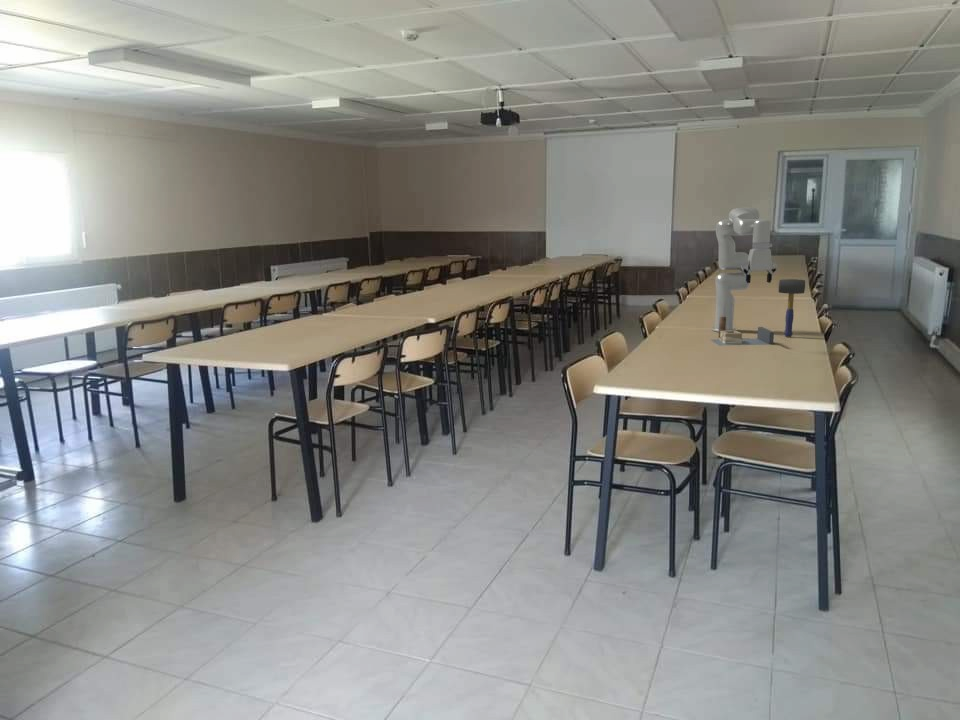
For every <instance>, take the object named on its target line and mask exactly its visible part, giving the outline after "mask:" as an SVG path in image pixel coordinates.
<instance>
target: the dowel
mask: <svg viewBox="0 0 960 720" xmlns="http://www.w3.org/2000/svg"><path fill="white" fill-rule="evenodd" d="M725 330H726V317H720V319H719V332H718V339H720V331H725Z"/></svg>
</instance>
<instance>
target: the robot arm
mask: <svg viewBox="0 0 960 720" xmlns="http://www.w3.org/2000/svg"><path fill="white" fill-rule="evenodd" d="M771 227H772V222H771V220H769V219H765V218H760V212H759V210H758V209H757V208H755V207H737V208H733V209H732V210H730V211H729V213H728V219H722V220H720V221H718V222H717V224H716V225H715V236H716V239H717V243H718V267H719V269H720V270H722V271H738V272H722V273H719V274H717V275H716V277H715V279H714V283H715V284H714V285H715V293H716V294H715V296H716V297H715V314H714V315H715V316H714V317H715V319H714V326H713V327H712V328H711V331H713V332H715V333H716V332H718V333H719V319H720V317H726V330H725V331H737V328H735V327H734V320H735V319H734V316H735V314H734V313H735V301H736V300H735V296H734V295H733V293H732V292H731V291H745V290H747V289H748V288H749V285H750V284H751V277H752V276H751V274H752V272H754V271H755V272H756V271H759V272H761V271H762V272H763V271H766V272H767V274H766V282H767V283H768V284H770V283H772V278H773V274H774V273H775V272H776V271H777V269H778V267H779V264H777V263H775V262H774V261H772V260H773V259H772V250H771V249H770V248H771V247H772V248H773V243H771V242H770V241H771V240H770V239H771ZM732 236H736V237H737V236H752V243H751V244H752V248H751V249H749V253H747V252H745V251H744V252H743V251H742V252H741V251H738V252H736V243H735V240H734V239H733V237H732ZM772 266H773V268H772Z"/></svg>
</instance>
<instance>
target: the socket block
mask: <svg viewBox="0 0 960 720" xmlns="http://www.w3.org/2000/svg"><path fill="white" fill-rule="evenodd" d="M719 339H720V341H721V342H723V343H725V344H742V339H743V333H742V332H740V331H739V330H736V331H720V338H719Z"/></svg>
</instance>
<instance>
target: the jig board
mask: <svg viewBox="0 0 960 720" xmlns="http://www.w3.org/2000/svg"><path fill="white" fill-rule="evenodd" d="M774 337H775V331H772V330H770V329H768V328H766V327H763V326H758V327H757V337H756V338H742V344H725V343H723V342H721V341H720V338H718V339H717V338H716V339H715V338H714V339H710V341H711V342H713V343H714V344H716V345H718V346H753V345H754V346H757V345H758V346H760V345H761V346H762V345H763V346H764V345H766V346H767V345H768V346H771V345H774V341H775V340H774Z"/></svg>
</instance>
